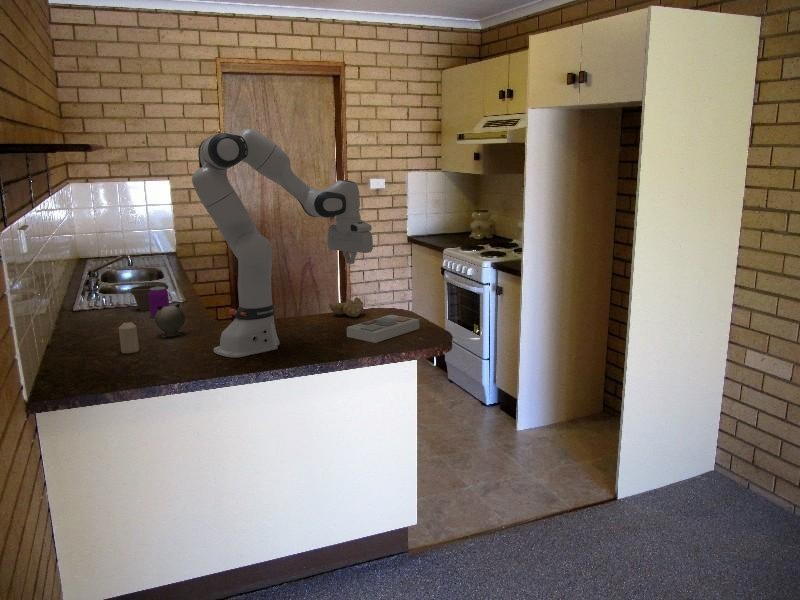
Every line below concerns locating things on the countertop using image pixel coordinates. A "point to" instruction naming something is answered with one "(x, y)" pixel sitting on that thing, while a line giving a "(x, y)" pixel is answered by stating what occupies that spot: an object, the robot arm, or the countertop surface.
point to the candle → (128, 338)
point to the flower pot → (142, 296)
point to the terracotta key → (401, 319)
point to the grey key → (386, 322)
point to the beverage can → (157, 299)
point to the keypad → (382, 333)
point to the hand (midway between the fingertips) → (350, 263)
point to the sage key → (371, 328)
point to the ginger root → (348, 307)
